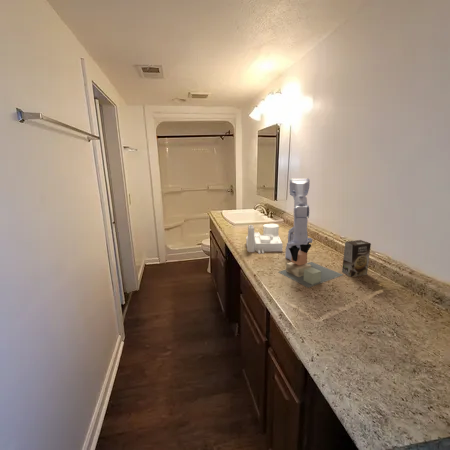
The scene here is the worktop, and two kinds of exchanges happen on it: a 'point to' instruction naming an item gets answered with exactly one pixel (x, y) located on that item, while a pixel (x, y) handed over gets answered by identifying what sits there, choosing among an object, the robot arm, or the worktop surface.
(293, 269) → the birch slab
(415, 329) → the worktop surface
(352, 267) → the coffee box
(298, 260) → the terracotta cube
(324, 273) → the slate mat
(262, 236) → the power plant
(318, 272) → the sage cube
